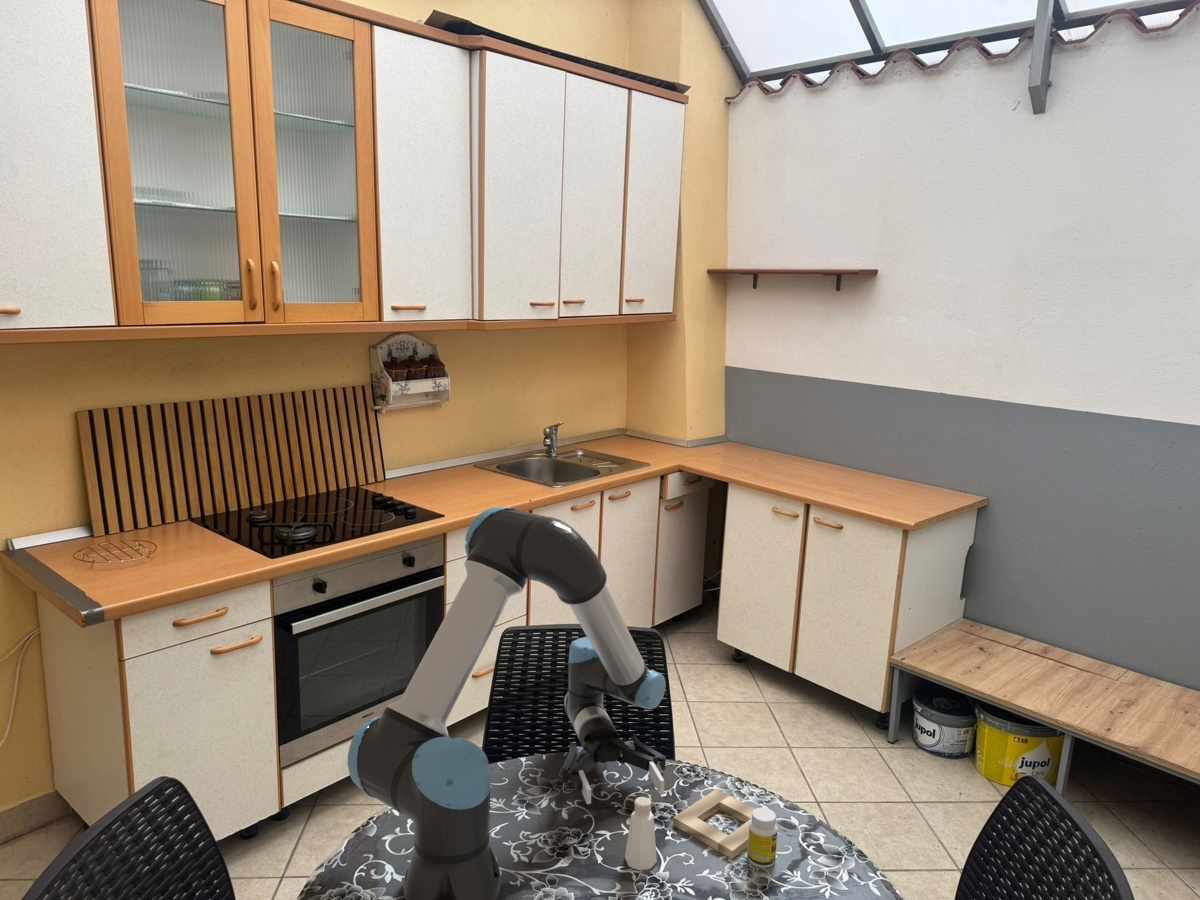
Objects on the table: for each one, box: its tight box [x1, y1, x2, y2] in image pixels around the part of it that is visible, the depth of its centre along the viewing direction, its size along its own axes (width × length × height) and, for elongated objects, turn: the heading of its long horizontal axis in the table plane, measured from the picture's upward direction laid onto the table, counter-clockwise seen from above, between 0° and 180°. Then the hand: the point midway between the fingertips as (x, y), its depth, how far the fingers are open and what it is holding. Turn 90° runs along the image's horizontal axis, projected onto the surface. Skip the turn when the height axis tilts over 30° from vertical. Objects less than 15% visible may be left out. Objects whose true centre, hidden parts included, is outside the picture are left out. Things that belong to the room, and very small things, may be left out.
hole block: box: [672, 788, 756, 860], centre depth 149 cm, size 13×13×2 cm
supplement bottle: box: [746, 807, 778, 869], centre depth 140 cm, size 5×5×8 cm
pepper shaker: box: [624, 796, 658, 872], centre depth 139 cm, size 5×5×11 cm
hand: (626, 792), depth 148 cm, fingers open, 13 cm apart
